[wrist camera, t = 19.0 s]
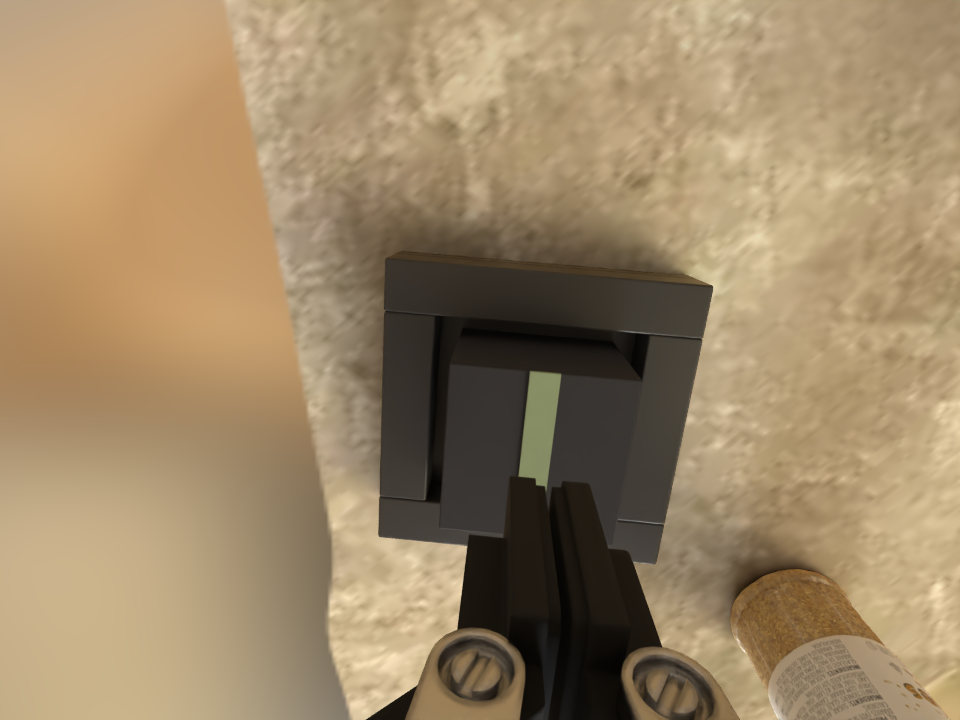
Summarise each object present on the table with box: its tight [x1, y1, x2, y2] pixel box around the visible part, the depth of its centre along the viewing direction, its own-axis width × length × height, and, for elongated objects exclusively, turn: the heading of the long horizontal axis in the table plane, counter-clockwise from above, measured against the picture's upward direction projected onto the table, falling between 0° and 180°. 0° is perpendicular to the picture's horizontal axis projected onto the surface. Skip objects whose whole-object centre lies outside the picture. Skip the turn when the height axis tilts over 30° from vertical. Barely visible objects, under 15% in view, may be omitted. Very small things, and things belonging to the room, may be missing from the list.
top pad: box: [439, 328, 642, 546], centre depth 16 cm, size 5×5×4 cm
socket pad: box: [378, 251, 713, 565], centre depth 18 cm, size 10×10×2 cm
